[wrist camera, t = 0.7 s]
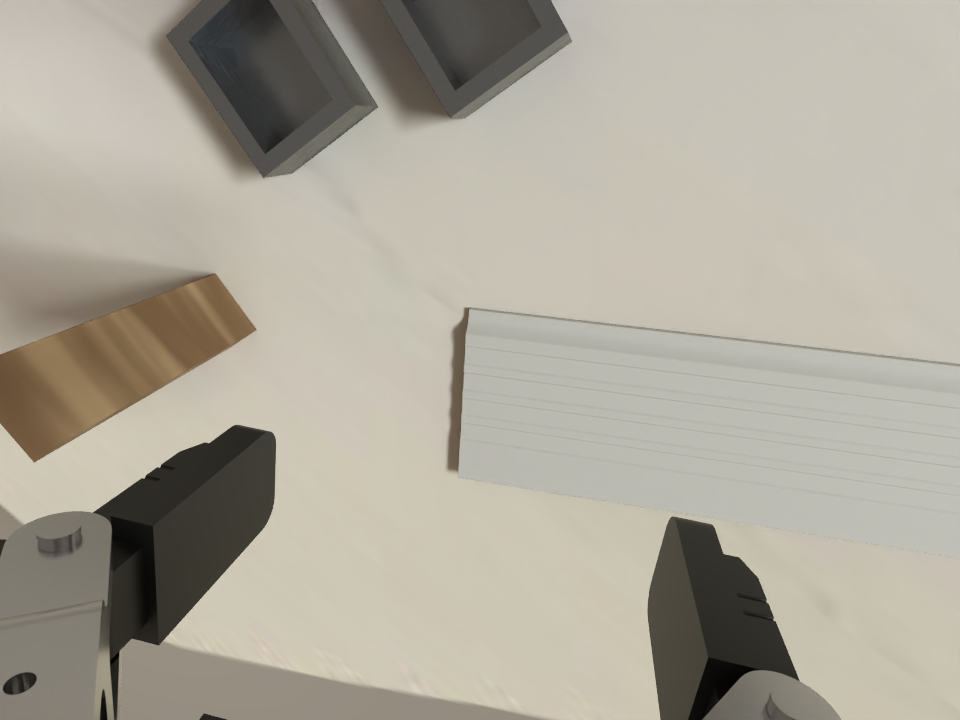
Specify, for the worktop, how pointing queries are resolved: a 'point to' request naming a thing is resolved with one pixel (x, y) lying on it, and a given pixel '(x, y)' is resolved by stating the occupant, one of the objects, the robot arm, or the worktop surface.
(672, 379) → the baseboard
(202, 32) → the endcap
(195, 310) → the slat
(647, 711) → the worktop surface
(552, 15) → the endcap
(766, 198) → the worktop surface
